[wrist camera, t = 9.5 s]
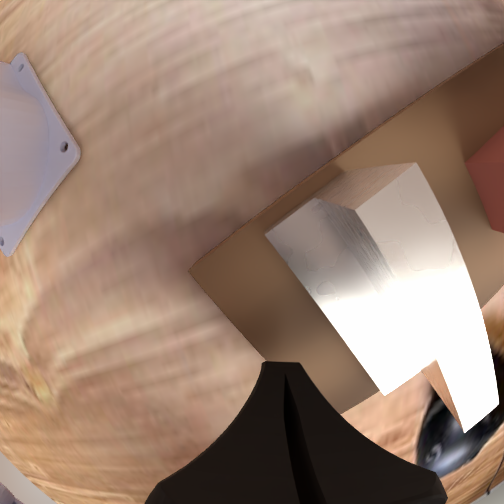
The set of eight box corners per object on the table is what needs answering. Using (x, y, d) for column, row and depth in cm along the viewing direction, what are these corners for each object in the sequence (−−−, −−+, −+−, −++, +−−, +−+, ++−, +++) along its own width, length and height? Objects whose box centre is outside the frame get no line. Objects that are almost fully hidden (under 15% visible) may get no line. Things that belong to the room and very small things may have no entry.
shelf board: (195, 263, 12) (188, 271, 11) (527, 28, 7) (536, 24, 6) (323, 406, 14) (326, 421, 12) (581, 146, 9) (591, 146, 8)
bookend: (264, 230, 10) (265, 276, 5) (344, 170, 10) (416, 162, 5) (378, 384, 12) (417, 464, 7) (439, 339, 11) (498, 403, 6)
